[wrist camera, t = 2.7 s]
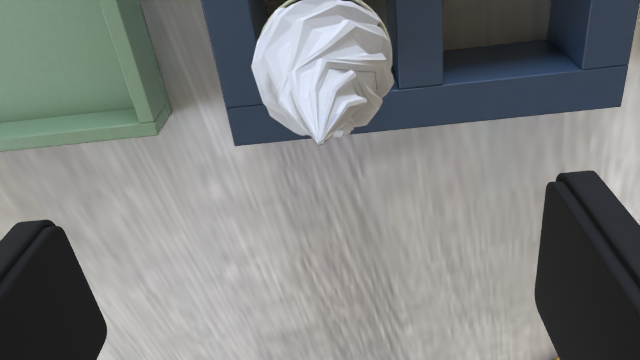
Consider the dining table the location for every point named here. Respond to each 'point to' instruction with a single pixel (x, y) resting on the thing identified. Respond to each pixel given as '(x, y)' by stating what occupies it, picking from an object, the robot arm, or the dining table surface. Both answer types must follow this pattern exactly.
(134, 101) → the shallow green box
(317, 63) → the ice cream cone
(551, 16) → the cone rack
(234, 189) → the dining table surface
